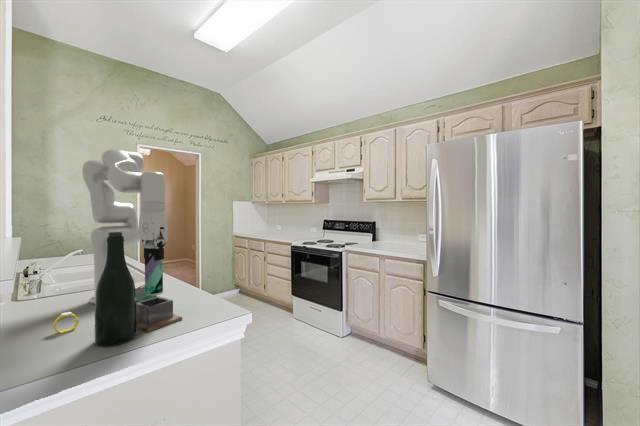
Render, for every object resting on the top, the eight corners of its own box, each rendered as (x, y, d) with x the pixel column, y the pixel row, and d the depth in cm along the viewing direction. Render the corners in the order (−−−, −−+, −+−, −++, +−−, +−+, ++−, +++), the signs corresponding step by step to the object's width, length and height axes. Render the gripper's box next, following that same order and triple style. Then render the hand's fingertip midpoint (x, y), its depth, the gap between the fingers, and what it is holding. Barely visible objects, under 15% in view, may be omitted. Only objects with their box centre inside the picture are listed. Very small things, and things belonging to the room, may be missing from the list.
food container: (142, 316, 104) (142, 289, 104) (128, 315, 106) (128, 288, 105) (166, 305, 117) (166, 281, 116) (153, 304, 118) (153, 280, 118)
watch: (76, 328, 95) (77, 310, 96) (78, 330, 94) (79, 312, 94) (52, 332, 91) (53, 314, 91) (53, 335, 89) (55, 316, 89)
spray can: (142, 293, 100) (142, 237, 100) (159, 290, 104) (159, 236, 104) (147, 297, 96) (147, 238, 96) (165, 293, 100) (164, 237, 100)
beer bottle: (90, 340, 86) (89, 232, 86) (130, 328, 95) (129, 229, 94) (100, 351, 80) (98, 234, 79) (141, 338, 88) (141, 232, 87)
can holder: (125, 323, 99) (125, 303, 99) (159, 312, 109) (159, 294, 109) (148, 332, 92) (147, 311, 92) (182, 319, 102) (182, 300, 102)
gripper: (128, 207, 100) (129, 258, 101) (157, 207, 92) (157, 263, 92) (150, 207, 107) (150, 255, 107) (178, 207, 98) (178, 259, 99)
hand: (153, 258), depth 100 cm, fingers closed on spray can, 5 cm apart
